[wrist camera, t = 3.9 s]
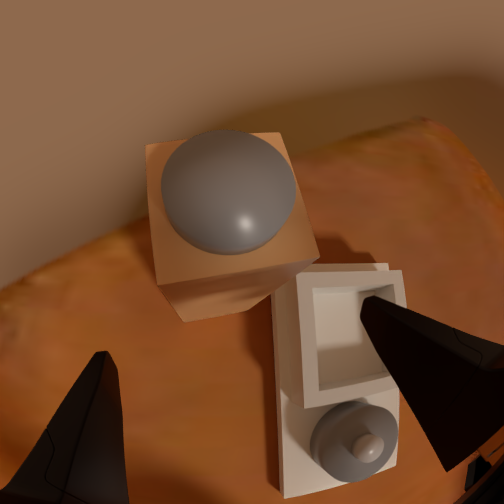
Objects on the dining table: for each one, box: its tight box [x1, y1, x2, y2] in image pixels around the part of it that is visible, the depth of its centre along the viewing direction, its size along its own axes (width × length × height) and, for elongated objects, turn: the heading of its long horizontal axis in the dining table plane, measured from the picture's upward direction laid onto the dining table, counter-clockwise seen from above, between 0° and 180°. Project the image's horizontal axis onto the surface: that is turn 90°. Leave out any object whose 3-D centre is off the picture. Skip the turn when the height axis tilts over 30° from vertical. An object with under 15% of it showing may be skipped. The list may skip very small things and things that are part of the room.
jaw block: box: [145, 130, 320, 322], centre depth 14 cm, size 4×4×14 cm
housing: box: [271, 263, 407, 499], centre depth 17 cm, size 18×10×5 cm, turn 3°
